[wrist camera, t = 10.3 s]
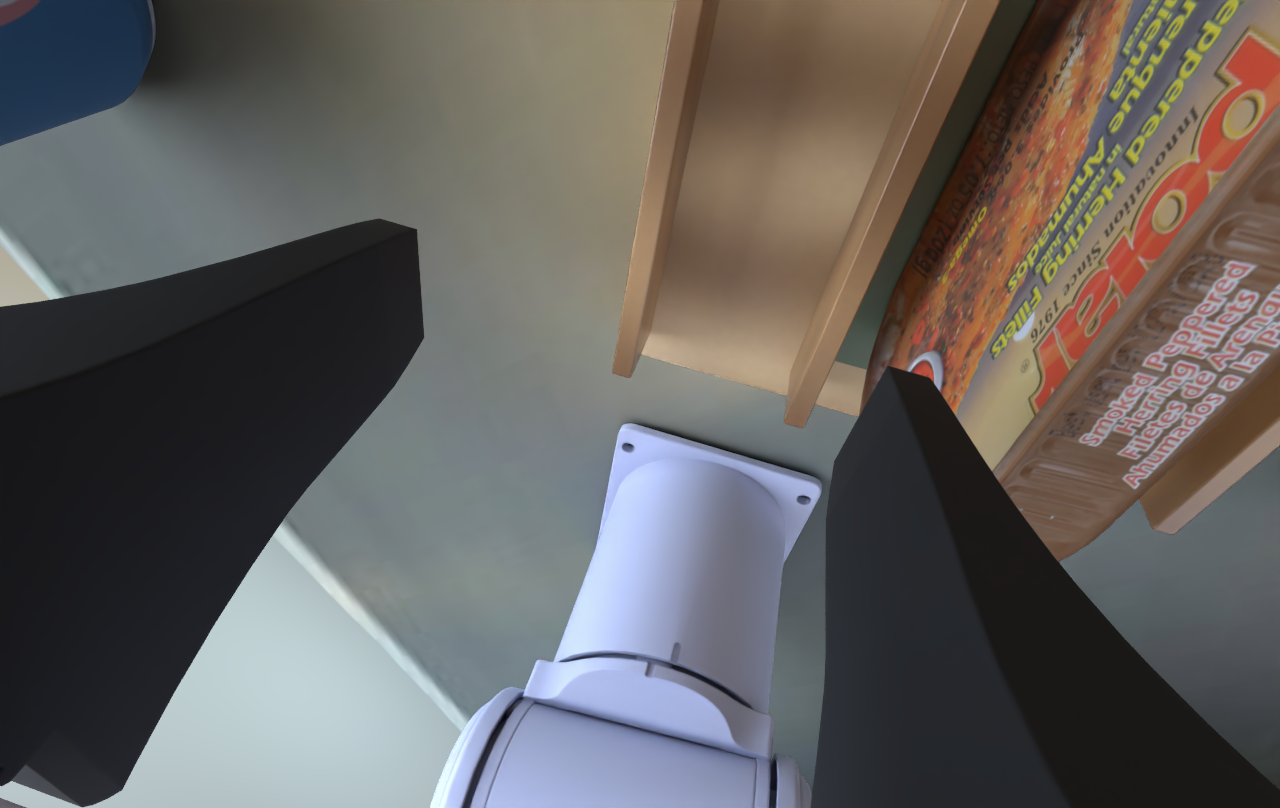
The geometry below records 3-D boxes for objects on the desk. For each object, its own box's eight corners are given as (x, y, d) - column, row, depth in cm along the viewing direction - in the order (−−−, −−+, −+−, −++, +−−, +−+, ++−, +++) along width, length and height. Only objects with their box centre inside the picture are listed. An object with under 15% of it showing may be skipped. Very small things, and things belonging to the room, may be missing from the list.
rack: (1124, 470, 21) (1163, 561, 19) (626, 329, 23) (594, 395, 20) (1949, -366, 9) (2408, -458, 7) (783, -559, 11) (757, -701, 8)
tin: (1211, -351, 10) (1798, -683, 4) (1426, -309, 10) (2418, -586, 4) (844, 380, 20) (839, 619, 14) (945, 410, 20) (987, 666, 14)
